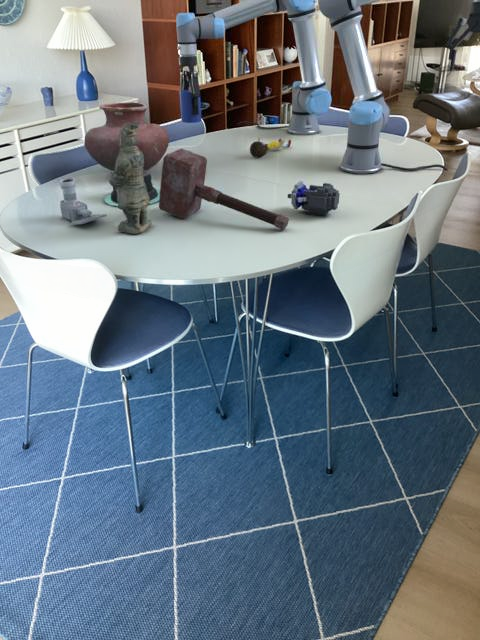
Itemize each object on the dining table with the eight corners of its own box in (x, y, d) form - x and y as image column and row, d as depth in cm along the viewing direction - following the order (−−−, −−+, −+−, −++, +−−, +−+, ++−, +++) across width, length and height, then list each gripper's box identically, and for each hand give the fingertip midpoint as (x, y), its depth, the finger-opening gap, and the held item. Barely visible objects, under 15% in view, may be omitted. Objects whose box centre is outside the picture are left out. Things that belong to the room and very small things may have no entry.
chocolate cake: (91, 202, 180) (113, 186, 197) (142, 231, 182) (160, 212, 199) (107, 162, 172) (129, 148, 190) (160, 192, 174) (177, 176, 192)
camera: (73, 174, 169) (102, 184, 161) (79, 211, 176) (108, 223, 167) (48, 181, 164) (77, 191, 155) (55, 219, 170) (83, 231, 161)
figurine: (298, 136, 240) (268, 140, 221) (297, 154, 243) (267, 160, 224) (272, 133, 246) (241, 137, 227) (271, 151, 249) (240, 156, 230)
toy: (295, 178, 172) (342, 184, 166) (295, 205, 177) (340, 211, 171) (285, 186, 166) (333, 192, 160) (284, 213, 170) (331, 220, 164)
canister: (205, 120, 242) (204, 90, 236) (189, 123, 237) (187, 93, 231) (193, 118, 248) (192, 88, 242) (177, 120, 243) (175, 91, 237)
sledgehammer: (299, 190, 156) (179, 147, 167) (285, 200, 148) (161, 154, 160) (286, 244, 166) (174, 200, 177) (272, 256, 158) (156, 209, 170)
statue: (131, 220, 168) (117, 116, 152) (158, 224, 164) (147, 118, 149) (109, 233, 159) (93, 124, 144) (138, 237, 156) (124, 126, 140)
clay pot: (179, 163, 223) (174, 97, 211) (157, 185, 198) (150, 112, 185) (108, 161, 228) (99, 97, 216) (77, 183, 203) (65, 111, 190)
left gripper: (169, 54, 236) (173, 109, 248) (189, 58, 220) (193, 117, 231) (186, 53, 239) (189, 108, 251) (206, 56, 223) (209, 115, 234)
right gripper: (526, 0, 180) (511, 71, 191) (448, 1, 192) (438, 68, 202) (522, 0, 175) (507, 73, 185) (442, 1, 186) (432, 70, 197)
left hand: (191, 112), depth 241 cm, fingers closed on canister, 9 cm apart
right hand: (471, 71), depth 194 cm, fingers open, 13 cm apart
